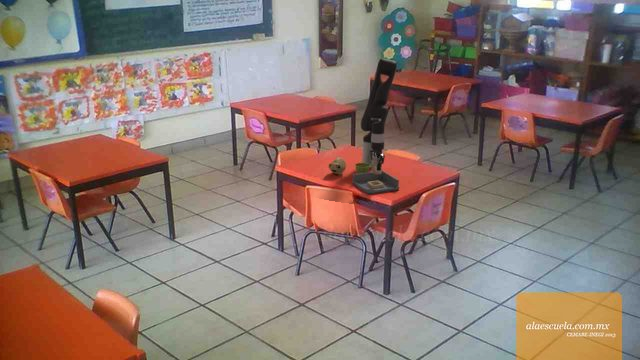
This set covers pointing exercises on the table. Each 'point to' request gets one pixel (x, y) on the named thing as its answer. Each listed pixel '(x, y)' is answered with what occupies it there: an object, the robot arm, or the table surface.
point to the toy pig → (337, 166)
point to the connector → (375, 167)
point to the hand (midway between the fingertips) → (376, 169)
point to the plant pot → (362, 167)
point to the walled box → (375, 182)
